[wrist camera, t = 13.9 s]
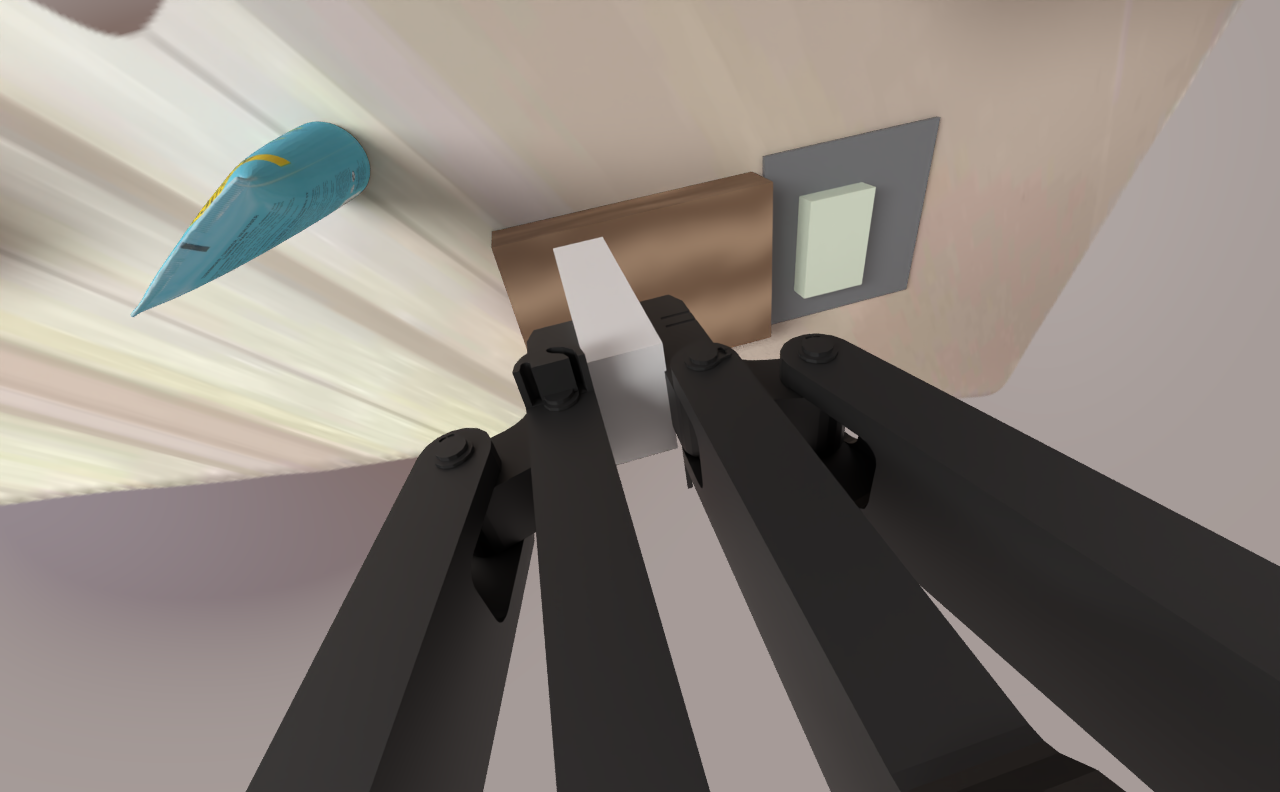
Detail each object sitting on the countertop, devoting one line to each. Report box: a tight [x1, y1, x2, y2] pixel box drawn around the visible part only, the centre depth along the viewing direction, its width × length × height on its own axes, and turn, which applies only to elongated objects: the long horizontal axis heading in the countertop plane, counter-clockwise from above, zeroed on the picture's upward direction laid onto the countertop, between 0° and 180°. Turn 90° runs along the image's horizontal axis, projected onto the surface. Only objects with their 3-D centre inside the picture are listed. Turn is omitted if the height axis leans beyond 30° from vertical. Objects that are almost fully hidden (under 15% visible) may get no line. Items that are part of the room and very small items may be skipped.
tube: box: [131, 122, 370, 317], centre depth 26 cm, size 7×5×19 cm, turn 135°
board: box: [491, 172, 773, 348], centre depth 42 cm, size 14×22×4 cm, turn 99°
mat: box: [763, 117, 940, 325], centre depth 45 cm, size 16×16×1 cm
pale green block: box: [794, 182, 876, 299], centre depth 44 cm, size 9×6×2 cm, turn 9°
